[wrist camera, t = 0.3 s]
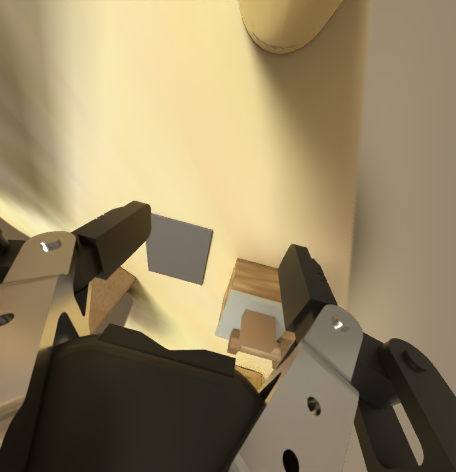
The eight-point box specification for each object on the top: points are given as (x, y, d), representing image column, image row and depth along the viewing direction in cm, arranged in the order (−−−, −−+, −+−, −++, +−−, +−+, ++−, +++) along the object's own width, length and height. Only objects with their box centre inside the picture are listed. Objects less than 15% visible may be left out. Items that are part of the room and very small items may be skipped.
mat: (144, 211, 32) (143, 212, 31) (212, 229, 31) (212, 231, 31) (149, 269, 41) (148, 270, 41) (202, 283, 41) (201, 285, 41)
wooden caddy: (237, 257, 34) (227, 316, 24) (315, 279, 34) (336, 347, 24) (223, 297, 43) (212, 353, 33) (286, 314, 42) (293, 376, 32)
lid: (232, 283, 29) (225, 322, 23) (298, 301, 29) (306, 345, 23) (217, 325, 37) (209, 360, 32) (267, 339, 37) (268, 377, 32)
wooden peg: (233, 328, 32) (230, 346, 30) (297, 346, 32) (300, 365, 30) (229, 335, 34) (227, 352, 31) (291, 352, 34) (293, 370, 31)
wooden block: (137, 277, 44) (64, 372, 28) (121, 290, 49) (51, 378, 33) (101, 253, 40) (-5, 344, 24) (87, 269, 45) (-9, 355, 29)
